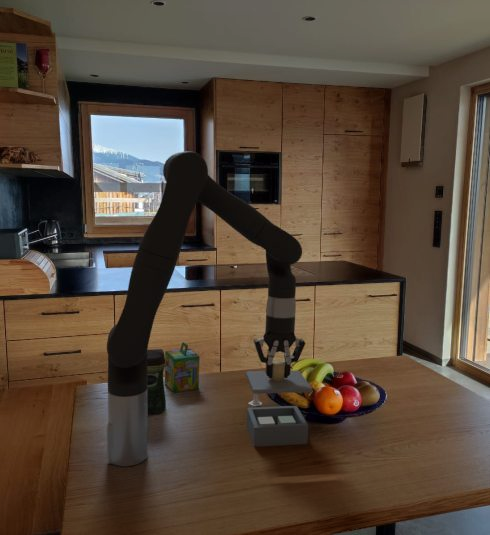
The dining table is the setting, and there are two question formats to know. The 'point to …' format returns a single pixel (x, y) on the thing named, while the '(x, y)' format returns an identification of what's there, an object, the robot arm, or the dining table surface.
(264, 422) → the cream block
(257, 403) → the chess piece
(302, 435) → the box
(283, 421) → the sage block
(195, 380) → the chalk box
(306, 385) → the lid
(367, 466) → the dining table surface
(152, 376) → the coffee jar
